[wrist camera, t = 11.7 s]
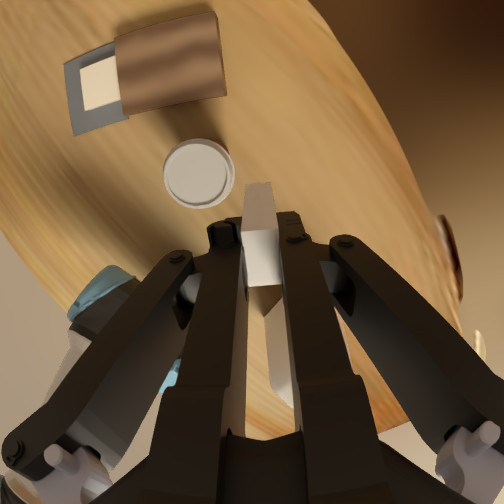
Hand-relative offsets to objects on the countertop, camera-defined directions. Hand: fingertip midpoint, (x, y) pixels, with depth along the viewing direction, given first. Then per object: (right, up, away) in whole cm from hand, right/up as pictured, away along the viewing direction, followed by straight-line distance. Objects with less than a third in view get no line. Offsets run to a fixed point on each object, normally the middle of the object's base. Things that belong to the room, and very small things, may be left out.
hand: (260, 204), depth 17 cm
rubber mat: (-28, +25, +20) cm, 43 cm away
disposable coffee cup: (-7, +12, +27) cm, 31 cm away
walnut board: (-13, +27, +19) cm, 35 cm away
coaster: (-25, +26, +19) cm, 41 cm away
